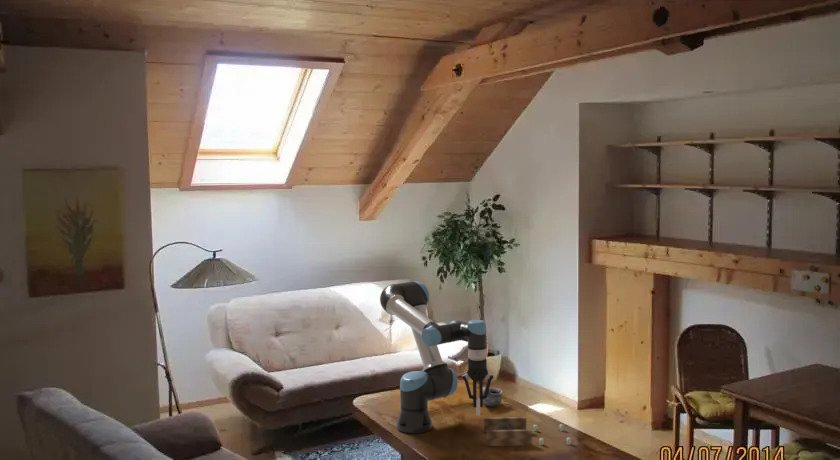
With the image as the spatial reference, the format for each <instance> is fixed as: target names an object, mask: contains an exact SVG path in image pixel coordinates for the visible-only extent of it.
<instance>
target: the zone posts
mask: <svg viewBox="0 0 840 460" xmlns="http://www.w3.org/2000/svg"><path fill="white" fill-rule="evenodd" d="M563 431H564V424H562V423H561V424H559V432H563ZM533 432H536V433H537V432H538V425H537V424H533ZM538 441H539V445H540V446H544V438H543V437H540V438H539V440H538ZM539 445H538V446H539ZM566 445H568V446H571V445H572V438H571V437H567V438H566Z"/></svg>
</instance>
